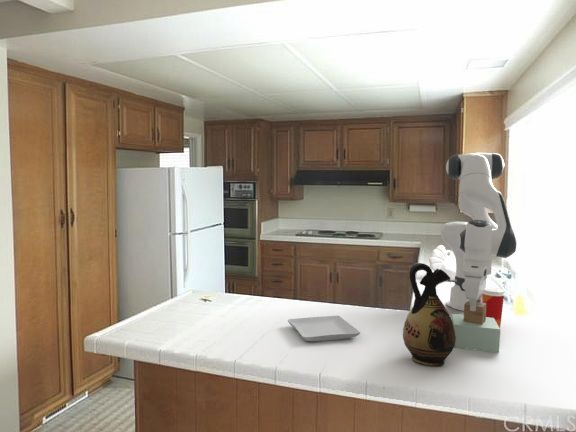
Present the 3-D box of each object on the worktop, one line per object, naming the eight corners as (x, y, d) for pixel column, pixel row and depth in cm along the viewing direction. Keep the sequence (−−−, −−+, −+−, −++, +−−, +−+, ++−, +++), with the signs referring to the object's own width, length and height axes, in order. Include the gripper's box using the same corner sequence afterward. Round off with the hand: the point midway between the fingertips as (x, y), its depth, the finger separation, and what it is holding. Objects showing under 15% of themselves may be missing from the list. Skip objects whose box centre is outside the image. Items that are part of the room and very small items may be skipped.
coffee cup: (484, 323, 176) (486, 286, 175) (506, 328, 170) (508, 290, 170) (476, 328, 170) (477, 289, 169) (498, 333, 164) (500, 293, 164)
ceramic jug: (442, 351, 144) (446, 260, 142) (463, 370, 129) (467, 268, 127) (391, 351, 144) (394, 259, 142) (405, 370, 128) (409, 267, 126)
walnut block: (467, 317, 157) (468, 300, 157) (485, 320, 154) (486, 303, 153) (463, 321, 152) (464, 304, 152) (482, 324, 149) (483, 307, 148)
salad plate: (303, 346, 147) (303, 336, 147) (286, 327, 168) (286, 318, 167) (361, 341, 153) (362, 332, 153) (338, 323, 173) (338, 315, 173)
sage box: (450, 335, 162) (451, 313, 161) (492, 339, 158) (493, 317, 157) (453, 348, 149) (454, 324, 148) (498, 353, 144) (500, 329, 144)
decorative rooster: (460, 277, 275) (462, 237, 273) (472, 282, 259) (474, 240, 257) (421, 276, 273) (423, 236, 271) (431, 282, 257) (433, 239, 256)
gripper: (472, 262, 162) (470, 299, 163) (462, 271, 145) (460, 312, 146) (491, 264, 159) (489, 302, 160) (482, 273, 142) (480, 315, 142)
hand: (475, 307), depth 153 cm, fingers open, 8 cm apart
